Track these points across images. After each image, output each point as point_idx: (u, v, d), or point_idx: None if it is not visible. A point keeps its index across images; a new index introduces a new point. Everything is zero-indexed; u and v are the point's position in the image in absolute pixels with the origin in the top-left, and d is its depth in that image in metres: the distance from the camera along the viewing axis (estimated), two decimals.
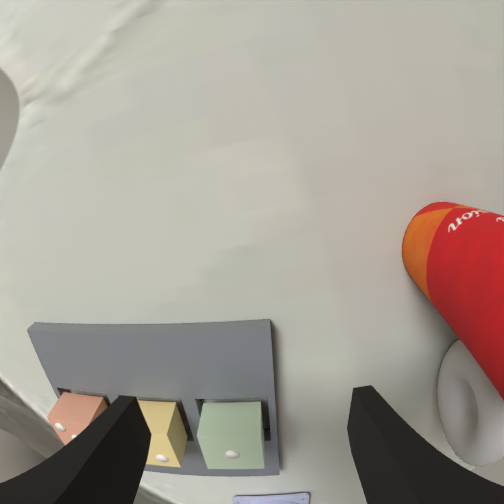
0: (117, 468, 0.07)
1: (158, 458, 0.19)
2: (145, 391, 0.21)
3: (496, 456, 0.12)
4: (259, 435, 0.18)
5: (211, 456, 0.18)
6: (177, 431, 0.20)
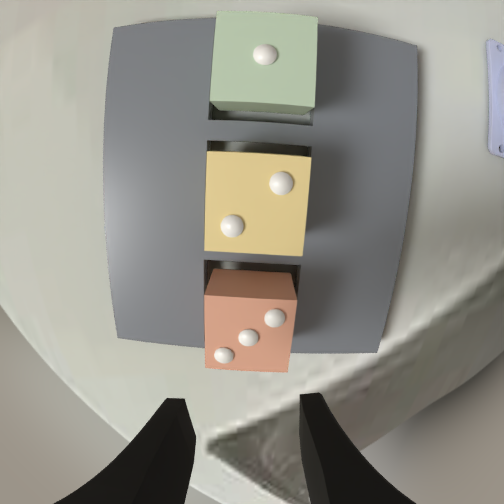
0: (171, 475, 0.07)
1: (282, 190, 0.12)
2: (193, 191, 0.16)
3: None
4: (217, 12, 0.10)
5: (273, 90, 0.11)
6: (251, 152, 0.14)
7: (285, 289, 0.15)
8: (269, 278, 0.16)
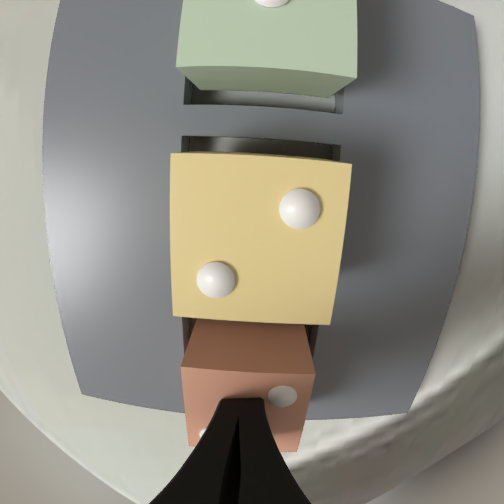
0: (235, 478, 0.07)
1: (300, 221, 0.07)
2: (163, 213, 0.10)
3: None
4: None
5: (286, 48, 0.06)
6: None
7: (297, 353, 0.10)
8: (274, 332, 0.11)
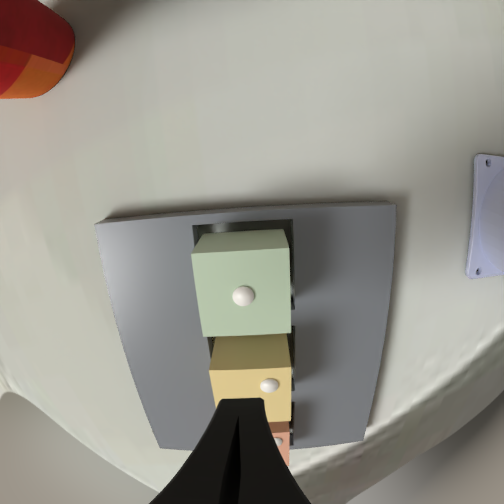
0: (235, 478, 0.07)
1: (270, 389, 0.15)
2: (202, 364, 0.19)
3: None
4: (191, 255, 0.13)
5: (254, 325, 0.14)
6: (244, 349, 0.17)
7: None
8: None
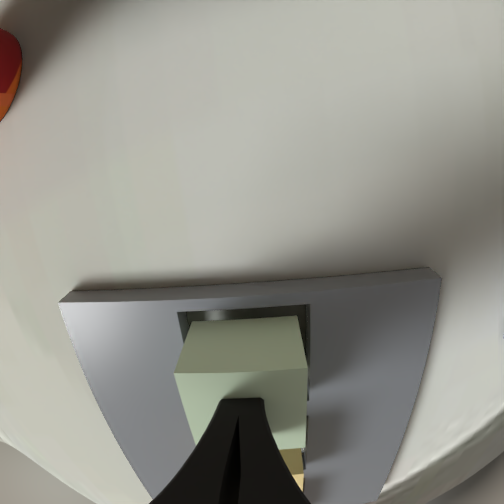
0: (235, 478, 0.07)
1: None
2: None
3: None
4: (174, 374, 0.09)
5: None
6: None
7: None
8: None
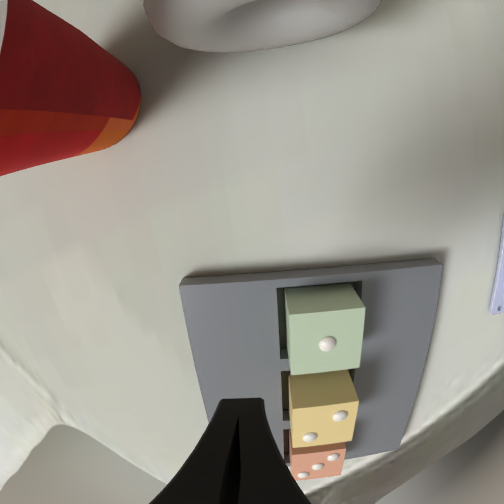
0: (235, 478, 0.07)
1: (340, 418, 0.18)
2: (273, 399, 0.21)
3: None
4: (289, 315, 0.16)
5: (332, 364, 0.17)
6: (316, 387, 0.19)
7: None
8: None
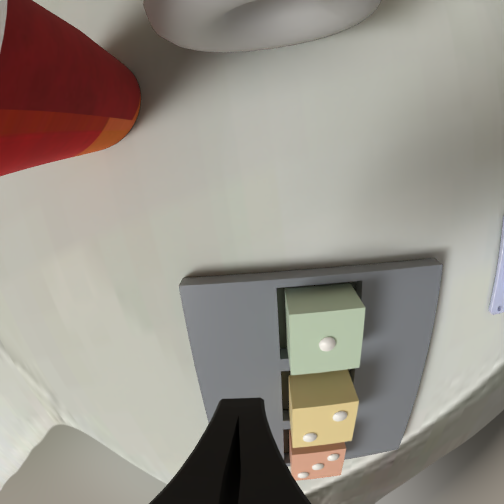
0: (235, 478, 0.07)
1: (340, 418, 0.17)
2: (273, 399, 0.21)
3: None
4: (289, 316, 0.16)
5: (332, 364, 0.17)
6: (316, 387, 0.19)
7: None
8: None
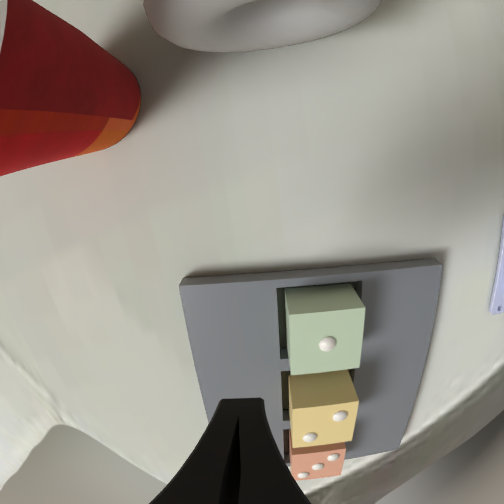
0: (235, 478, 0.07)
1: (340, 418, 0.17)
2: (273, 399, 0.21)
3: None
4: (289, 316, 0.16)
5: (332, 364, 0.17)
6: (316, 387, 0.19)
7: None
8: None
